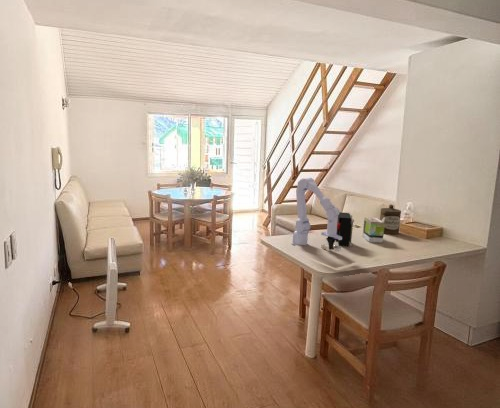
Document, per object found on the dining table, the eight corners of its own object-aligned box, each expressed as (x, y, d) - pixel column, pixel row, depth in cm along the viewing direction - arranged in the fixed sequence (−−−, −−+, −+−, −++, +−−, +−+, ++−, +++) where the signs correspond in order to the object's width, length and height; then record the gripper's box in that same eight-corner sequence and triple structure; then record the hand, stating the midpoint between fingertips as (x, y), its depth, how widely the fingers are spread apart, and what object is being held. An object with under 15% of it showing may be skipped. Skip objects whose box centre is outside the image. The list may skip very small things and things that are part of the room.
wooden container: (381, 234, 264) (385, 206, 261) (375, 229, 279) (378, 202, 275) (401, 235, 264) (405, 207, 260) (394, 230, 279) (397, 203, 275)
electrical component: (351, 248, 225) (354, 218, 221) (335, 247, 227) (338, 217, 223) (349, 241, 242) (352, 213, 238) (334, 240, 244) (337, 212, 240)
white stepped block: (324, 249, 216) (324, 244, 216) (327, 248, 218) (327, 244, 217) (328, 251, 213) (328, 246, 213) (331, 250, 215) (331, 245, 214)
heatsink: (317, 249, 219) (317, 245, 219) (331, 246, 227) (331, 242, 226) (330, 254, 211) (331, 250, 210) (344, 251, 218) (345, 246, 218)
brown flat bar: (322, 248, 218) (322, 246, 217) (333, 246, 224) (333, 244, 224) (326, 250, 215) (326, 248, 215) (337, 247, 221) (337, 245, 221)
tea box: (383, 242, 242) (385, 222, 239) (368, 242, 242) (370, 221, 239) (375, 237, 256) (377, 217, 254) (362, 236, 256) (364, 216, 254)
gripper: (318, 225, 215) (317, 246, 217) (337, 230, 204) (335, 252, 206) (326, 224, 219) (324, 245, 221) (344, 229, 208) (343, 251, 210)
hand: (330, 248), depth 214 cm, fingers closed, pressing on white stepped block
